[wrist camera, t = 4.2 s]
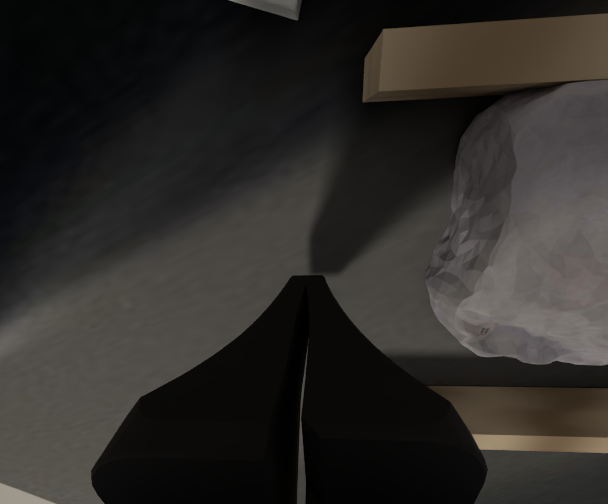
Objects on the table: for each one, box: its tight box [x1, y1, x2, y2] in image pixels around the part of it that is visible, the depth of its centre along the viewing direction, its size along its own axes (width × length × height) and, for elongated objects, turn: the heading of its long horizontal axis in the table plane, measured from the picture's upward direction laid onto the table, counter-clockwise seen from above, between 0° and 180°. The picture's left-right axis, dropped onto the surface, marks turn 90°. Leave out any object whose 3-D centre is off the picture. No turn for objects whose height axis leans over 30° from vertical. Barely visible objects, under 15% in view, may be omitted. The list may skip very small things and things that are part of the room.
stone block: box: [425, 80, 608, 366], centre depth 9 cm, size 12×5×10 cm
